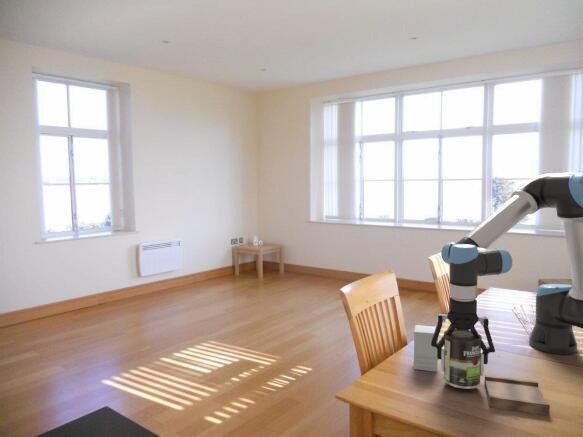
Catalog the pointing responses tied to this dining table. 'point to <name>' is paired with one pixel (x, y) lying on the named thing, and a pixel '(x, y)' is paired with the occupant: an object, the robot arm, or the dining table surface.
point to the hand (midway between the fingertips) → (461, 371)
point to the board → (515, 395)
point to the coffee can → (462, 359)
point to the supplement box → (424, 349)
